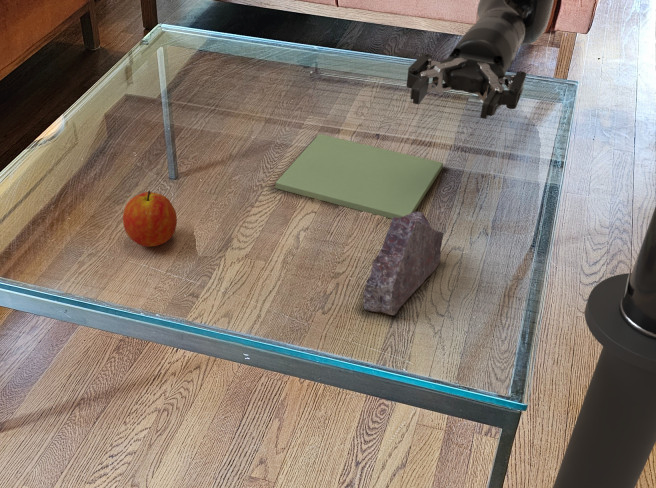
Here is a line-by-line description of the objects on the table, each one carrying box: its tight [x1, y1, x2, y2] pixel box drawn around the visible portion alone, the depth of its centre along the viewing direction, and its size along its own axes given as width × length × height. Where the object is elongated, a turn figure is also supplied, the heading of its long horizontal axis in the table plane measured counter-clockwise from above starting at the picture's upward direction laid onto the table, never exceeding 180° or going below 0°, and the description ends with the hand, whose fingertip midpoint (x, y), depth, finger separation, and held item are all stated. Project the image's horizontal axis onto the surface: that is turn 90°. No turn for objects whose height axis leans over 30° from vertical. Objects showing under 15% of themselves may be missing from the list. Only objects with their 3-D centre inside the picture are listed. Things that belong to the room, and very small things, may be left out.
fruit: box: [122, 190, 178, 248], centre depth 109 cm, size 7×7×8 cm
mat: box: [275, 133, 444, 220], centre depth 123 cm, size 20×16×1 cm
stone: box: [362, 211, 444, 316], centre depth 101 cm, size 10×6×15 cm
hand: (449, 104), depth 103 cm, fingers open, 8 cm apart
